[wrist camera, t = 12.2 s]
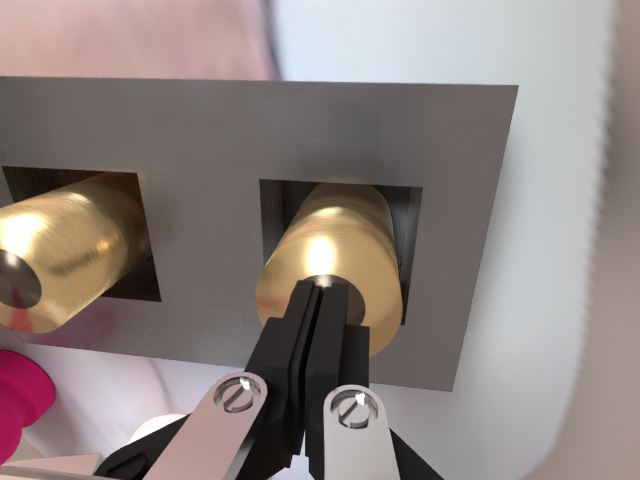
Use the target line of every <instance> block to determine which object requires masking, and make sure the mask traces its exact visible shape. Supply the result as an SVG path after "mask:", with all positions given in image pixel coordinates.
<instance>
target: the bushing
mask: <svg viewBox="0 0 640 480" xmlns="http://www.w3.org/2000/svg"><path fill="white" fill-rule="evenodd" d="M298 280H306V281H315V286H321V302H322V298H323V294H324V290H325V287H331V286H332V283H342V284H349V293H348V311H347V324H350V325H360V326H370V340H369V358H370V357H372V356H374V355H375V354H377V353H378V352H380V351H381V350H382V349H383V348H385V347H386V346H387V345H388V344H389V342H390V341H391V340H392V339H393V337H394V336H395V334H396V332H397V330H398V328H399V325H400V322H401V318H402V307H403V306H402V297H401V289H400V281H399V273H398V265H397V257H396V249H395V240H394V232H393V224H392V216H391V212H390V208H389V206H388V203H387V202H386V200H385V198H384V197H383V196H382V194H381V193H380V192H379V191H378V190H377V189H376V188H374V187H373V186H371V185H369V184H349V183H330V182H323V183H321V184H319V185H318V186H316V187H315V188H314V189H313V190H312V191H311V192H310V193H309V194H308V195H307V197H306V198H305V200H304V201H303V203H302V205H301V206H300V208H299V210H298V211H297V213H296V215H295V217H294V218H293V220H292V222H291V223H290V225H289V227H288V228H287V230H286V232H285V233H284V235H283V237H282V239H281V240H280V242H279V244H278V245H277V247H276V249H275V250H274V252H273V254H272V255H271V257H270V259H269V261H268V262H267V264H266V266H265V267H264V269H263V271H262V273H261V275H260V277H259V279H258V282H257V286H256V292H255V303H256V310H257V313H258V316H259V319H260V321H261V323H262V325H263V327H264V326H265V324H266V321H267V320H268V318H269V317H278V318H283V316H284V314H285V311H286V308H287V306H288V303H289V301H290V298H291V296H292V293H293V290H294V288H295V285H296V283H297V281H298ZM320 306H321V305H320Z"/></svg>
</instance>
